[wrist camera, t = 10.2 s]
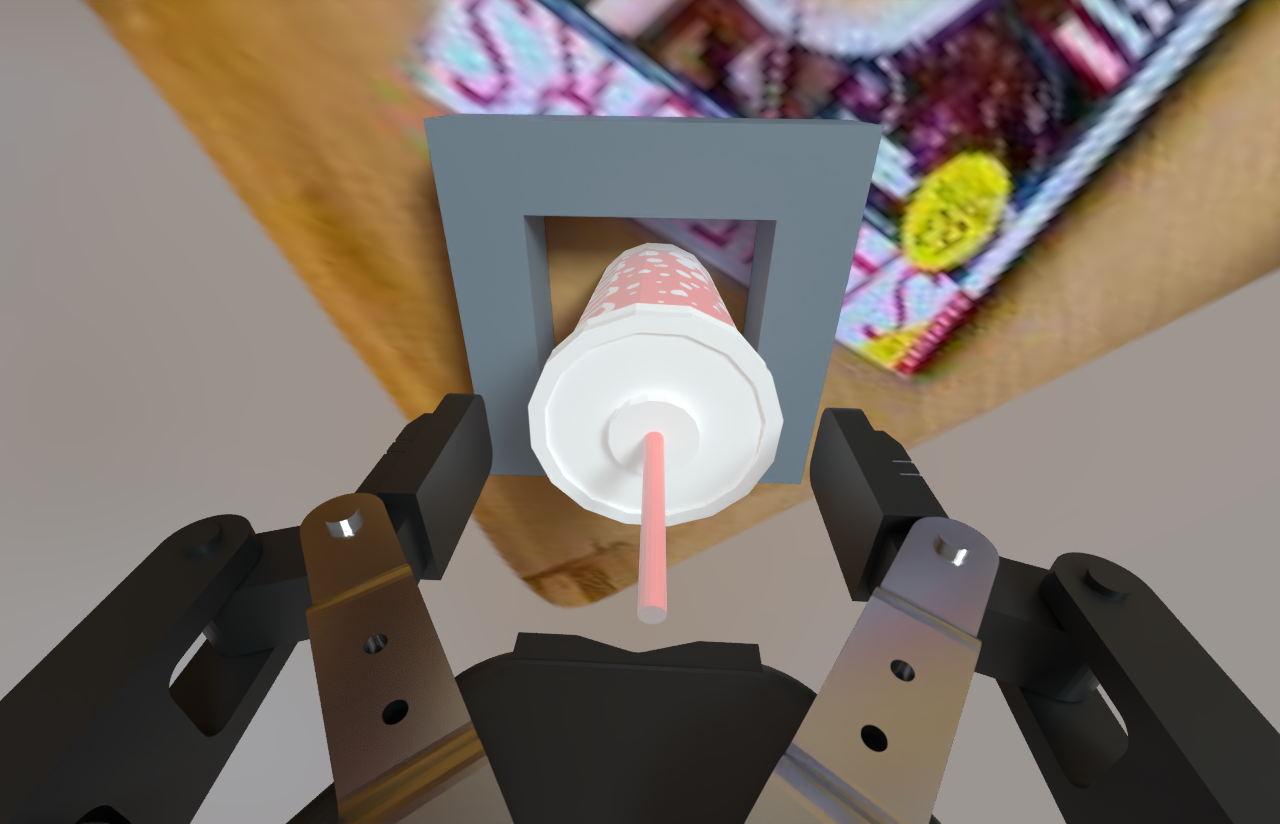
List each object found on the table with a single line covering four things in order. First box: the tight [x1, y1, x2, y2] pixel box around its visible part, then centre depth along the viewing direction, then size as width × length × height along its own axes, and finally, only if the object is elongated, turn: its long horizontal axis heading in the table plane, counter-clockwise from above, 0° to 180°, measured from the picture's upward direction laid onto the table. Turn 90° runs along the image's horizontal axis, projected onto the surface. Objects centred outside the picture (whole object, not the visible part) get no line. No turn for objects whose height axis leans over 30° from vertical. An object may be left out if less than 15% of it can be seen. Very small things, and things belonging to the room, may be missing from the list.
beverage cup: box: [528, 243, 783, 624], centre depth 14 cm, size 6×6×14 cm
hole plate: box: [424, 114, 884, 484], centre depth 19 cm, size 13×13×3 cm
